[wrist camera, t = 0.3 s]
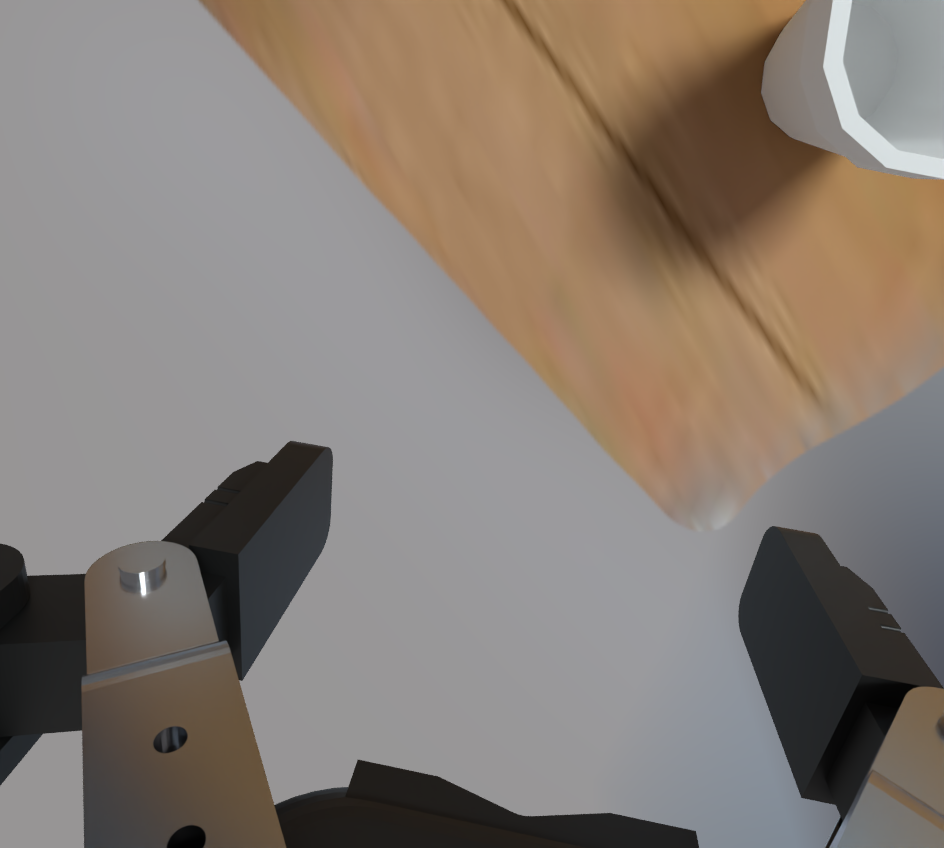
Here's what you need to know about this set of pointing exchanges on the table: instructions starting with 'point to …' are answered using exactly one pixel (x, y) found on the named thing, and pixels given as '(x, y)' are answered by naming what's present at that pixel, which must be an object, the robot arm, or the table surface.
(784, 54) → the foam cup
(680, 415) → the table surface
